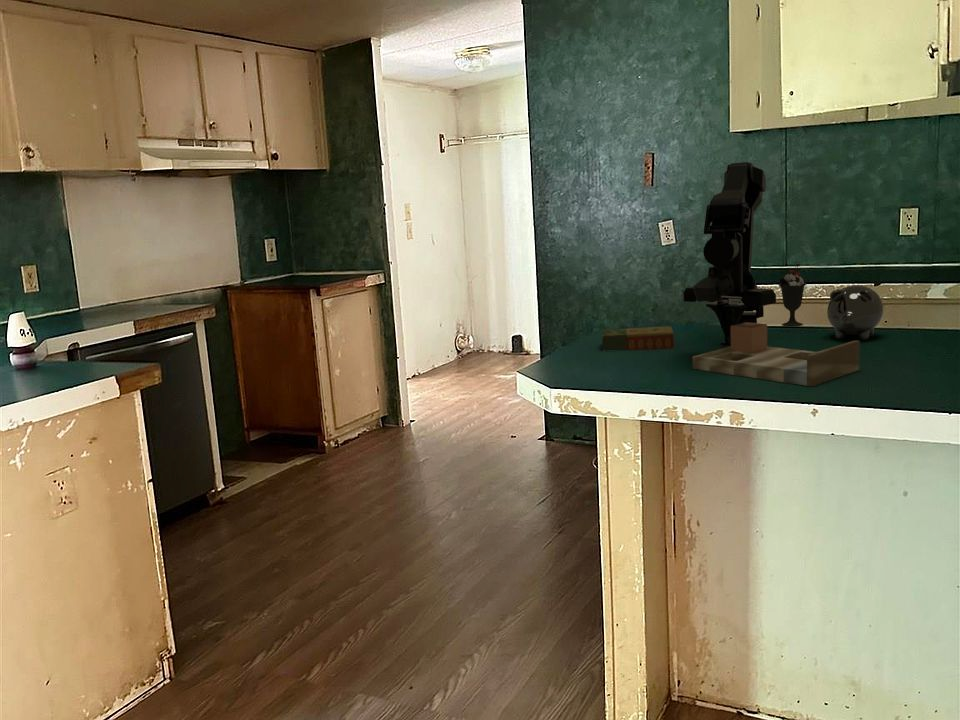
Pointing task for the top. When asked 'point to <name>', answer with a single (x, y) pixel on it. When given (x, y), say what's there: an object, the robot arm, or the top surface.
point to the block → (749, 337)
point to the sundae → (792, 295)
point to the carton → (638, 338)
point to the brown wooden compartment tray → (784, 363)
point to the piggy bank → (854, 311)
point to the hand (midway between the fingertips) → (728, 337)
